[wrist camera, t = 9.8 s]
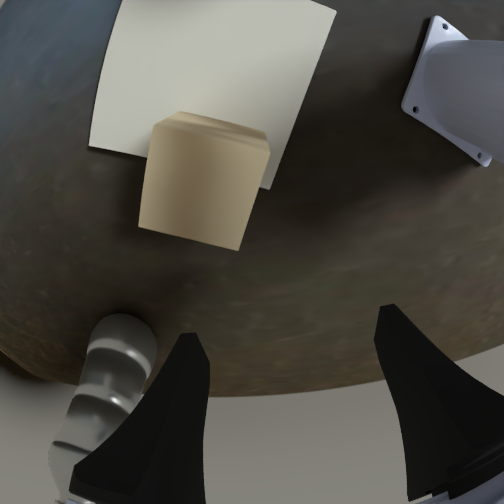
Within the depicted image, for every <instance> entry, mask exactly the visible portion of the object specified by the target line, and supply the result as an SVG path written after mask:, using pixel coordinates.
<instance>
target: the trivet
mask: <svg viewBox="0 0 504 504" xmlns="http://www.w3.org/2000/svg"><path fill="white" fill-rule="evenodd" d="M336 12H337V11H335V10H333V9H330V8H328V7H326V6H323V5H321V4H318V3H315V2H313V1H310V0H123V1H122V4H121V6H120V9H119V12H118V15H117V18H116V21H115V24H114V27H113V31H112V34H111V37H110V41H109V44H108V48H107V52H106V56H105V59H104V63H103V68H102V72H101V76H100V81H99V86H98V91H97V96H96V101H95V107H94V113H93V119H92V126H91V133H90V141H89V146H93V147H99V148H104V149H109V150H114V151H119V152H124V153H128V154H133V155H138V156H142V157H147V158H148V152H149V147H150V141H151V136H152V131H153V126H154V124H156V123H158V122H160V121H161V120H163V119H165V118H167V117H169V116H171V115H173V114H175V113H177V112H179V111H183V112H187V113H192V114H197V115H201V116H206V117H210V118H214V119H219V120H223V121H227V122H231V123H234V124H238V125H242V126H246V127H249V128H253V129H257V130H260V131H263V132H265V135H266V138H267V142H268V145H269V149H270V156H269V159H268V162H267V165H266V168H265V171H264V174H263V177H262V180H261V183H260V186H259V187H261V188H265V189H268V190H270V187H271V185H272V182H273V179H274V177H275V174H276V171H277V169H278V166H279V163H280V160H281V158H282V155H283V152H284V150H285V147H286V144H287V142H288V139H289V136H290V134H291V131H292V128H293V126H294V123H295V120H296V118H297V115H298V112H299V110H300V107H301V104H302V102H303V99H304V96H305V94H306V91H307V88H308V86H309V83H310V81H311V78H312V75H313V73H314V70H315V67H316V65H317V62H318V59H319V57H320V54H321V51H322V49H323V46H324V44H325V41H326V38H327V36H328V33H329V30H330V28H331V25H332V23H333V20H334V17H335V15H336Z"/></svg>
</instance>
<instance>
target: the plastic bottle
mask: <svg viewBox="0 0 504 504" xmlns="http://www.w3.org/2000/svg"><path fill="white" fill-rule="evenodd" d="M156 352H157V342H156V339H155V337H154V334H153V332H152V330H151V329H150V328H149V326H148V325H146V324H145V323H144V322H143V321H141V320H140V319H138V318H136V317H134V316H131V315H128V314H123V313H115V314H111V315H109V316H106V317H104V318H103V319H101V320H100V321H99V323H98V324H97V325H96V327H95V328H94V330H93V331H92V333H91V337H90V340H89V344H88V349H87V357H86V360H85V363H84V366H83V370H82V373H81V377H80V380H79V384H78V387H77V389H76V392H75V394H74V398H73V399H72V401H71V404H70V406H69V409H68V411H67V414H66V415H65V417H64V419H63V421H62V423H61V425H60V427H59V429H58V431H57V433H56V435H55V437H54V441H53V442H52V443H51V446H50V449H49V452H48V460H49V467H50V470H51V473H52V476H53V479H54V481H55V483H56V485H57V488H58V490H59V492H60V500H59V501H58V500H55V504H66V502H67V499H68V498H69V499H72V500H74V501H77V502H80V503H82V504H95V503H94V502H91V501H88V500H86V499H83V498H81V497H78V496H76V495H74V494H71V493H70V492H69V485H70V481H71V476H72V472H73V468H74V465H75V464H77V463H78V462H79V461H81V460H82V459H83V458H85V457H86V456H87V455H89V454H90V453H91V452H93V451H94V450H95V449H96V448H97V447H98V446H100V445H101V444H102V443H103V442H104V441H105V440H106V439H107V438H108V437H109V436H110V435H111V434H112V433H113V432H114V431H115V430H116V429H117V428H118V427H119V426H120V425H121V424H122V423H123V421H124V420H125V419H126V418H127V417H128V416H129V415H130V413H131V412H132V411H133V410H134V408H135V407H136V406H137V404H138V403H139V400H140V397H141V394H142V391H143V388H144V385H145V382H146V380H147V379H148V377H149V375H150V373H151V370H152V368H153V366H154V363H155V361H156Z"/></svg>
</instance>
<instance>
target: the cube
mask: <svg viewBox="0 0 504 504" xmlns="http://www.w3.org/2000/svg"><path fill="white" fill-rule="evenodd" d="M269 156H270V149H269V145H268V142H267V138H266V135H265V132H263V131H260V130H257V129H253V128H249V127H246V126H242V125H238V124H234V123H231V122H227V121H223V120H219V119H214V118H210V117H206V116H201V115H197V114H192V113H187V112H183V111H179V112H177V113H175V114H173V115H171V116H169V117H167V118H165V119H163V120H161V121H160V122H158V123H156V124H154V126H153V131H152V136H151V141H150V147H149V152H148V158H147V164H146V170H145V177H144V184H143V191H142V199H141V207H140V216H139V225H138V227H142V228H146V229H150V230H154V231H158V232H162V233H166V234H170V235H175V236H179V237H183V238H187V239H191V240H195V241H199V242H203V243H207V244H212V245H216V246H220V247H224V248H228V249H232V250H236V251H238V250H239V247H240V244H241V241H242V238H243V235H244V232H245V228H246V225H247V222H248V219H249V216H250V213H251V210H252V207H253V204H254V201H255V198H256V195H257V192H258V189H259V186H260V183H261V180H262V177H263V174H264V171H265V168H266V165H267V162H268V159H269Z"/></svg>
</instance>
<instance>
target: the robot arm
mask: <svg viewBox="0 0 504 504" xmlns="http://www.w3.org/2000/svg"><path fill="white" fill-rule="evenodd" d="M442 24H443V25H444V26H445V29H444V28H443V26H442ZM414 106H415V107H416V112H415V113H414V112H413V107H414ZM401 108H402V110H403V111H404V112H405V113H407V114H409V115H411V116H412V117H414V118H416V119H417V120H419V121H420V122H422V123H424V124H425V125H427V126H428V127H430V128H431V129H433V130H434V131H436V132H437V133H439V134H440V135H442V136H443V137H445V138H446V139H448V140H449V141H451V142H452V143H453V144H455V145H456V146H457V147H459V148H460V149H462V150H463V151H464V152H466V153H467V154H468V155H470V156H471V157H472V158H473V159H475V160H476V161H477V162H478V163H480V164H481V165H482V166H484V167H487V166H488V165H489V164H490V161H491V159H492V158H494V159H495V160H497V161H499V162H501V163H502V164H504V41H490V40H469V39H467V38H466V37H465V36H464V35H463V34H462V33H460V32H459V31H458V30H457V29H455V28H454V27H453V26H452V25H450V24H449V23H448V22H447V21H445V20H444V19H443V18H441V17H440V16H433V17H432V18H431V21H430V24H429V27H428V30H427V34H426V37H425V40H424V43H423V46H422V49H421V52H420V54H419V57H418V60H417V63H416V66H415V68H414V71H413V74H412V77H411V79H410V82H409V85H408V87H407V90H406V92H405V95H404V97H403V100H402V103H401ZM478 153H479V156H478ZM374 342H375V346H376V351H377V354H378V358H379V362H380V365H381V368H382V370H383V373H384V376H385V379H386V381H387V384H388V387H389V389H390V392H391V395H392V398H393V401H394V404H395V406H396V410H397V414H398V418H399V422H400V428H401V433H402V439H403V446H404V453H405V462H406V472H407V473H406V474H407V496H408V501H409V502H410V501H413V500H416V499H418V498H421V497H424V496H426V495H429V494H431V493H432V496H433V497H432V498H430V499H427V500H425V501H423V502H420V503H417V504H504V396H503V395H501V394H499V393H498V392H496V391H494V390H492V389H490V388H489V387H487V386H486V385H484V384H483V383H481V382H479V381H478V380H476V379H475V378H473V377H472V376H471V375H469V374H468V373H467V372H465V371H464V370H463V369H461V368H460V367H459V366H458V365H456V364H455V363H454V362H453V361H452V360H450V359H449V358H448V357H447V356H446V355H445V354H444V353H443V352H441V351H440V350H439V349H438V348H437V347H436V346H435V345H434V344H433V343H432V342H431V341H430V340H429V339H428V338H427V337H426V336H425V335H424V334H423V333H422V332H421V331H420V330H419V329H418V328H417V327H416V326H415V325H414V324H413V323H412V322H411V321H410V320H409V319H408V317H407V316H406V315H405V314H404V313H403V312H402V311H401V310H400V309H399V308H398V307H397V306H396V305H395V304H390V305H385V306H380V310H379V316H378V321H377V326H376V332H375V336H374ZM209 386H210V362H209V360H208V358H207V356H206V354H205V352H204V349H203V347H202V345H201V343H200V341H199V339H198V336H197V334H196V333H184V334H181V335H180V336H179V338H178V340H177V341H176V343H175V345H174V347H173V349H172V350H171V352H170V354H169V356H168V358H167V359H166V361H165V363H164V365H163V366H162V368H161V370H160V371H159V373H158V375H157V376H156V378H155V379H154V381H153V383H152V384H151V386H150V387H149V389H148V390H147V392H146V393H145V395H144V396H143V398H142V399H141V400H140V402H139V403H138V404H137V406H136V407H135V408H134V410H133V411H132V412H131V413H130V415H129V416H128V417H127V418H126V419H125V420H124V421H123V423H122V424H121V425H120V426H119V427H118V428H117V429H116V430H115V431H114V432H113V433H112V434H111V435H110V436H109V437H108V438H107V439H106V440H105V441H104V442H103V443H102V444H101V445H100V446H98V447H97V448H96V449H95V450H94V451H93V452H91V453H90V454H89V455H87V456H86V457H85V458H83V459H82V460H81V461H79V462H78V463H77V464H75V465H74V468H73V472H72V476H71V481H70V485H69V492H70V493H71V494H74V495H76V496H78V497H81V498H83V499H86V500H88V501H91V502H94V503H95V504H206V500H205V490H204V473H203V435H204V426H205V418H206V410H207V402H208V394H209ZM66 504H82V503H80V502H77V501H74V500H72V499H69V498H68V499H67V502H66Z"/></svg>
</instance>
